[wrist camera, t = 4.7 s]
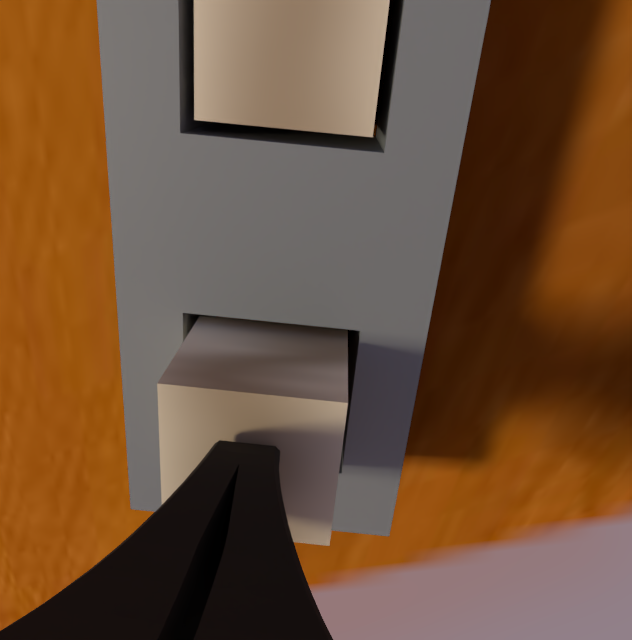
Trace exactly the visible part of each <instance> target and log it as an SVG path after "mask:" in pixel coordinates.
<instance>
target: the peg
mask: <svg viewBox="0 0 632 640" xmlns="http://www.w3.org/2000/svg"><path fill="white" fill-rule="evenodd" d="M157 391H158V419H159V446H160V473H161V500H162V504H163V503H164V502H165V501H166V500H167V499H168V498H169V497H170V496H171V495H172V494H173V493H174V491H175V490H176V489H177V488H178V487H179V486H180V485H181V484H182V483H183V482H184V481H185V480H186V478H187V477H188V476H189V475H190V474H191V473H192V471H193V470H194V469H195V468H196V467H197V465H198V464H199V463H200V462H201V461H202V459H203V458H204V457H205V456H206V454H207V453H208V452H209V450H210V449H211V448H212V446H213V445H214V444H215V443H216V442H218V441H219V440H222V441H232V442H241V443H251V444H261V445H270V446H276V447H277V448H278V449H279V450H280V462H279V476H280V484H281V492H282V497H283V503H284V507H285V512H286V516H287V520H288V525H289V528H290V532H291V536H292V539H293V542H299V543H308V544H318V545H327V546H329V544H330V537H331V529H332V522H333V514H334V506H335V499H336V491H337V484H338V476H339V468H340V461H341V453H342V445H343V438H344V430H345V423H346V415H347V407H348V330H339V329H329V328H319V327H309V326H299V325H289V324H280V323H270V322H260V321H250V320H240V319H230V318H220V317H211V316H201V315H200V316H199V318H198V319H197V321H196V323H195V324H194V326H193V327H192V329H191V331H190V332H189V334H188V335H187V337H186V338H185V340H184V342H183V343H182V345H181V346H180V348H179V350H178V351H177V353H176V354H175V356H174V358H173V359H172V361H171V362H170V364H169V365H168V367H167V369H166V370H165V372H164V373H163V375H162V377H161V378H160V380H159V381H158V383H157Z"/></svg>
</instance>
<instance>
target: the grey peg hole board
mask: <svg viewBox="0 0 632 640" xmlns="http://www.w3.org/2000/svg"><path fill="white" fill-rule="evenodd" d="M490 3H491V0H393V3H392V11H391V19H390V27H389V35H388V43H387V51H386V59H385V67H384V75H383V83H382V91H381V99H380V107H379V114H378V122H377V130H376V137H374V136H373V137H364V136H353V135H343V134H333V133H323V132H312V131H302V130H292V129H281V128H271V127H261V126H251V125H240V124H230V123H220V122H209V121H199V120H194V0H97V13H98V27H99V42H100V57H101V72H102V87H103V102H104V117H105V132H106V147H107V162H108V177H109V192H110V206H111V221H112V236H113V251H114V266H115V281H116V296H117V311H118V326H119V341H120V356H121V370H122V385H123V400H124V415H125V430H126V445H127V460H128V475H129V490H130V505H131V509H136V510H145V511H154V512H155V511H156V510H157V509H158V508H159V507H160V506H161V505H162V500H161V473H160V446H159V419H158V391H157V383H158V381H159V380H160V378H161V377H162V375H163V373H164V372H165V370H166V369H167V367H168V365H169V364H170V362H171V361H172V359H173V358H174V356H175V354H176V353H177V351H178V350H179V348H180V346H181V345H182V343H183V342H184V340H185V338H186V337H187V335H188V334H189V332H190V331H191V329H192V327H193V326H194V324H195V323H196V321H197V319H198V318H199V316H200V315H201V316H211V317H216V316H219V317H229V318H239V319H249V320H259V321H269V322H278V323H288V324H298V325H308V326H318V327H328V328H338V329H347V330H351V337H350V345H349V352H348V407H347V415H346V423H345V430H344V438H343V445H342V453H341V461H340V468H339V476H338V484H337V491H336V499H335V506H334V514H333V522H332V529H331V530H334V531H343V532H353V533H362V534H372V535H381V536H389V534H390V529H391V524H392V519H393V513H394V508H395V503H396V498H397V492H398V487H399V482H400V476H401V471H402V466H403V461H404V455H405V450H406V445H407V440H408V434H409V429H410V424H411V419H412V413H413V408H414V403H415V398H416V392H417V387H418V382H419V377H420V371H421V366H422V361H423V355H424V350H425V345H426V340H427V334H428V329H429V324H430V319H431V313H432V308H433V303H434V298H435V292H436V287H437V282H438V277H439V271H440V266H441V261H442V255H443V250H444V245H445V240H446V234H447V229H448V224H449V219H450V213H451V208H452V203H453V198H454V192H455V187H456V182H457V177H458V171H459V166H460V161H461V155H462V150H463V145H464V140H465V134H466V129H467V124H468V119H469V113H470V108H471V103H472V98H473V92H474V87H475V82H476V77H477V71H478V66H479V61H480V55H481V50H482V45H483V40H484V34H485V29H486V24H487V19H488V13H489V8H490Z"/></svg>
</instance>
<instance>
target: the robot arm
mask: <svg viewBox="0 0 632 640" xmlns="http://www.w3.org/2000/svg"><path fill="white" fill-rule="evenodd" d="M279 462H280V450H279V449H278V448H277V447H276V446H270V445H261V444H251V443H241V442H232V441H222V440H219V441H218V442H216V443H215V444H214V445H213V446H212V448H211V449H210V450H209V452H208V453H207V454H206V456H205V457H204V458H203V459H202V461H201V462H200V463H199V464H198V465H197V467H196V468H195V469H194V470H193V471H192V473H191V474H190V475H189V476H188V477H187V478H186V480H185V481H184V482H183V483H182V484H181V485H180V486H179V487H178V488H177V489H176V490H175V491H174V493H173V494H172V495H171V496H170V497H169V498H168V499H167V500H166V501H165V502H164V503H163V504H162V505H161V506H160V507H159V508H158V509H157V510H156V511H155V512H154V513H153V514H152V515H151V516H150V517H149V518H148V519H147V520H146V521H145V522H144V523H143V524H142V525H141V526H140V527H139V528H138V529H137V530H136V531H135V532H134V533H133V534H131V535H130V536H129V537H128V538H127V539H126V540H125V541H124V542H122V543H121V544H120V545H119V546H118V547H117V548H116V549H114V550H113V551H112V552H111V553H110V554H108V555H107V556H106V557H105V558H104V559H102V560H101V561H100V562H99V563H97V564H96V565H95V566H94V567H93V568H91V569H90V570H89V571H87V572H86V573H85V574H83V575H82V576H81V577H79V578H78V579H77V580H75V581H74V582H73V583H71V584H70V585H69V586H67V587H66V588H65V589H63V590H62V591H61V592H59V593H58V594H56V595H55V596H54V597H52V598H51V599H49V600H48V601H46V602H45V603H43V604H42V605H41V606H39V607H38V608H36V609H34V610H33V611H31V612H30V613H28V614H27V615H25V616H23V617H22V618H20V619H19V620H17V621H16V622H14V623H12V624H11V625H9V626H8V627H6V628H5V629H3V630H1V631H0V640H333V639H332V637H331V635H330V633H329V631H328V629H327V627H326V625H325V623H324V621H323V619H322V616H321V614H320V612H319V610H318V607H317V605H316V603H315V600H314V598H313V596H312V593H311V591H310V588H309V586H308V583H307V581H306V578H305V575H304V573H303V570H302V567H301V564H300V561H299V558H298V555H297V552H296V549H295V546H294V542H293V539H292V536H291V532H290V528H289V525H288V520H287V516H286V512H285V507H284V503H283V497H282V492H281V484H280V476H279Z"/></svg>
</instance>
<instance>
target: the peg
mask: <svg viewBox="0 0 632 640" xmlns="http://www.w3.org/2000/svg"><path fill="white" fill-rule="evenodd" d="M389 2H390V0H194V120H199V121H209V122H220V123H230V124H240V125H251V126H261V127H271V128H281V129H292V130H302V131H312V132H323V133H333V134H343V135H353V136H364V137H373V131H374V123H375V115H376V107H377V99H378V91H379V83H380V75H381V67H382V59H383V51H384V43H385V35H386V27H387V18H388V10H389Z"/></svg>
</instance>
